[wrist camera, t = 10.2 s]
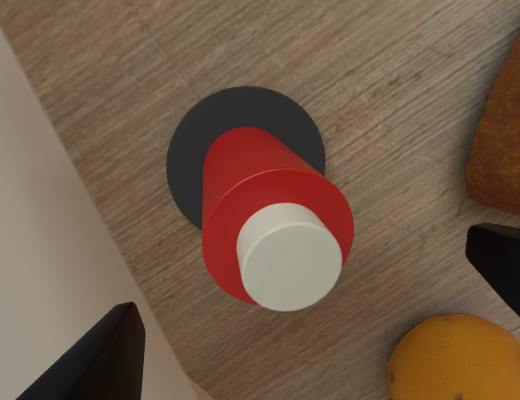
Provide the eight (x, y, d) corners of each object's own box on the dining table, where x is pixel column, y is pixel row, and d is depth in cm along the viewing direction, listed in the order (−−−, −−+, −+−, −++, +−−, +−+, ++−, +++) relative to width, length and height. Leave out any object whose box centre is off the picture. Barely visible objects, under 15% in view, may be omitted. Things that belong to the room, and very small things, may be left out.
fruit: (494, 339, 29) (591, 426, 22) (401, 400, 30) (464, 502, 23) (455, 270, 25) (557, 349, 18) (350, 343, 26) (406, 445, 19)
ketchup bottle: (213, 218, 19) (222, 358, 10) (194, 135, 17) (180, 206, 8) (293, 201, 20) (378, 318, 10) (283, 119, 18) (378, 166, 8)
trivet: (188, 249, 21) (188, 256, 20) (147, 101, 17) (145, 102, 16) (326, 220, 22) (330, 225, 21) (314, 73, 18) (319, 73, 17)
